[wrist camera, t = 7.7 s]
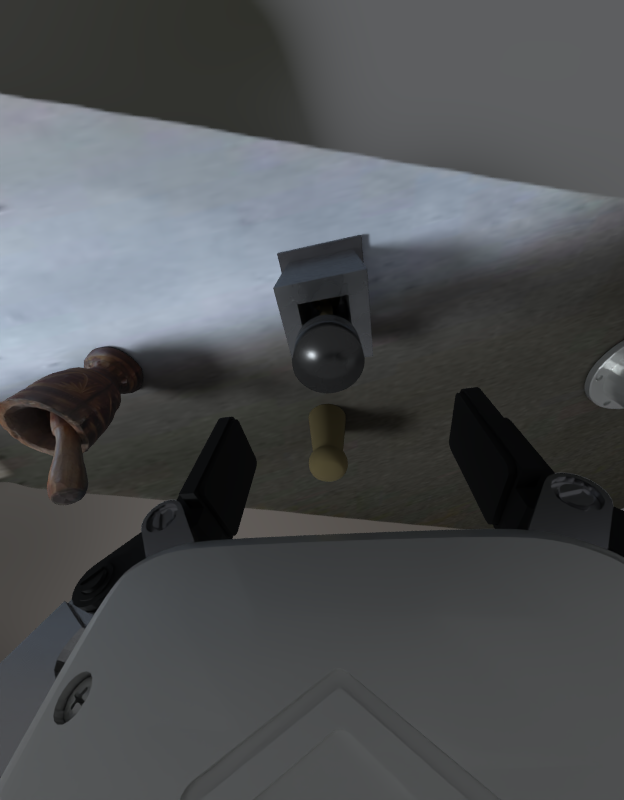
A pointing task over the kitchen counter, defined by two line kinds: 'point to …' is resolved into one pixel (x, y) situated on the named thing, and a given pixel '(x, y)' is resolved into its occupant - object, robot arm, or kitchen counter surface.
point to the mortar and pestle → (71, 415)
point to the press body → (324, 287)
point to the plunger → (327, 351)
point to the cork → (327, 442)
